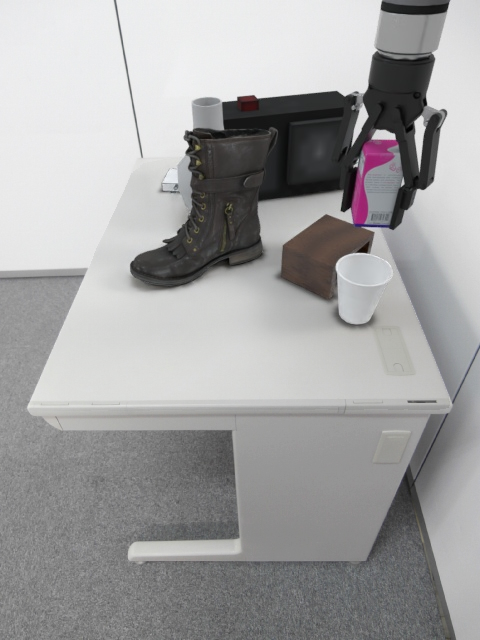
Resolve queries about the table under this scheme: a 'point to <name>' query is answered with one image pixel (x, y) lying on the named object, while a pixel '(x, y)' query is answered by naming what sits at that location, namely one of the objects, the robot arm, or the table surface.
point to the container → (170, 181)
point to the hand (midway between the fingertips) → (370, 216)
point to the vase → (204, 116)
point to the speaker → (294, 139)
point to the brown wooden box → (322, 253)
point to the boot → (214, 207)
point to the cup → (361, 285)
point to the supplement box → (376, 184)
